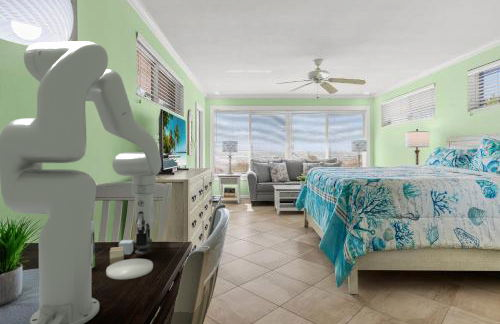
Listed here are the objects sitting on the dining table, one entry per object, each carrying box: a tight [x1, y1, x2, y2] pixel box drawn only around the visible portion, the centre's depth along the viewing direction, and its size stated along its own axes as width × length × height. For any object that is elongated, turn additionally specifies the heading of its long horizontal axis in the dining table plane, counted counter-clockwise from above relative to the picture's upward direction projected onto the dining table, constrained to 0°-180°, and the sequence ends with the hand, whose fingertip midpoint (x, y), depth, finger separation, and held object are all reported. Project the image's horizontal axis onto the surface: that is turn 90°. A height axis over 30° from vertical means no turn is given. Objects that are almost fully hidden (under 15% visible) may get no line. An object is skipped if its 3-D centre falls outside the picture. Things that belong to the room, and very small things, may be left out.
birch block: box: [109, 246, 125, 265], centre depth 95 cm, size 4×4×4 cm
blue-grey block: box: [118, 239, 134, 256], centre depth 103 cm, size 4×4×4 cm
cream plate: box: [105, 258, 154, 280], centre depth 88 cm, size 13×13×1 cm
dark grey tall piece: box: [133, 222, 153, 255], centre depth 99 cm, size 6×6×12 cm
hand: (143, 242), depth 99 cm, fingers closed on dark grey tall piece, 5 cm apart
